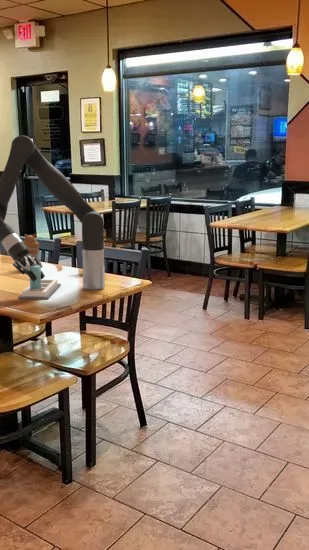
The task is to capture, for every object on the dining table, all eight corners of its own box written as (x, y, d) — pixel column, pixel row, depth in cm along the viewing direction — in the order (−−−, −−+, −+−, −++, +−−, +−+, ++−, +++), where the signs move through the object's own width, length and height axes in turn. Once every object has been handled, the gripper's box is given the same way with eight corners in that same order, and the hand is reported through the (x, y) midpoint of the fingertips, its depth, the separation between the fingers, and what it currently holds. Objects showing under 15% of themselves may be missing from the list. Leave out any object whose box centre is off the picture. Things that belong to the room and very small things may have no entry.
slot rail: (60, 285, 239) (60, 279, 238) (48, 299, 214) (47, 292, 214) (34, 284, 239) (34, 278, 238) (18, 298, 214) (18, 292, 214)
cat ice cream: (21, 269, 272) (20, 234, 268) (24, 267, 279) (22, 232, 276) (39, 269, 273) (38, 234, 269) (41, 266, 280) (40, 232, 276)
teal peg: (42, 287, 221) (41, 265, 219) (39, 289, 216) (39, 267, 214) (31, 286, 221) (31, 265, 219) (28, 289, 216) (28, 267, 215)
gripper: (8, 243, 212) (32, 276, 209) (31, 239, 224) (55, 270, 221) (-2, 255, 215) (22, 288, 212) (22, 250, 228) (45, 281, 225)
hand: (39, 278), depth 217 cm, fingers closed on teal peg, 4 cm apart
